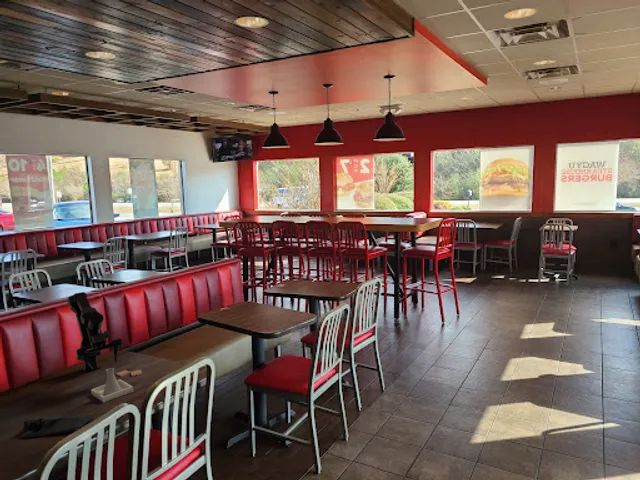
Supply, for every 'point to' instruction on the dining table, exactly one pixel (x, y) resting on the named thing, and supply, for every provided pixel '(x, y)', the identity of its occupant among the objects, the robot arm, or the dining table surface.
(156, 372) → the dining table surface
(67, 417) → the black crumpled cloth
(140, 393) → the dining table surface
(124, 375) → the tile
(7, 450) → the dining table surface
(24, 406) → the dining table surface
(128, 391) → the tray
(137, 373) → the tile
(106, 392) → the flask
